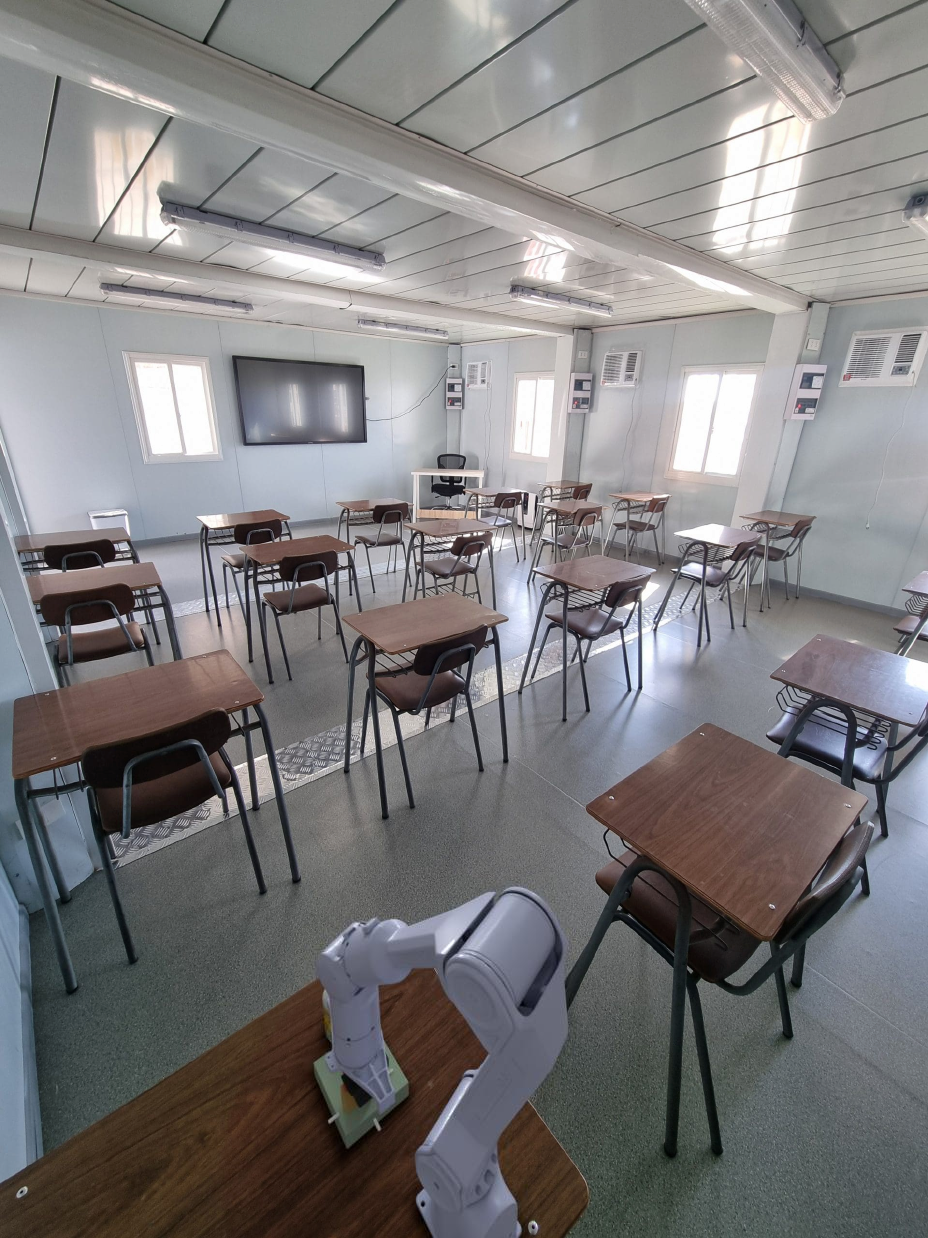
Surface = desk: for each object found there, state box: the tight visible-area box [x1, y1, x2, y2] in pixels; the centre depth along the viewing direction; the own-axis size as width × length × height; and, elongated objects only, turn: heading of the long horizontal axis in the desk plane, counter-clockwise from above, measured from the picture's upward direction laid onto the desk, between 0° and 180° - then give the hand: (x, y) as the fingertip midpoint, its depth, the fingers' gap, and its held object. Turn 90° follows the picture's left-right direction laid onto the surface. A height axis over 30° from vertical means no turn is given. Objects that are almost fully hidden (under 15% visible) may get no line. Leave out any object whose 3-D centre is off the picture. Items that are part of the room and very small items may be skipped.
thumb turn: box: [340, 1083, 357, 1114], centre depth 64 cm, size 5×1×4 cm, turn 128°
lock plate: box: [312, 1041, 410, 1149], centre depth 67 cm, size 12×10×3 cm
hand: (361, 1092), depth 65 cm, fingers closed on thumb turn
